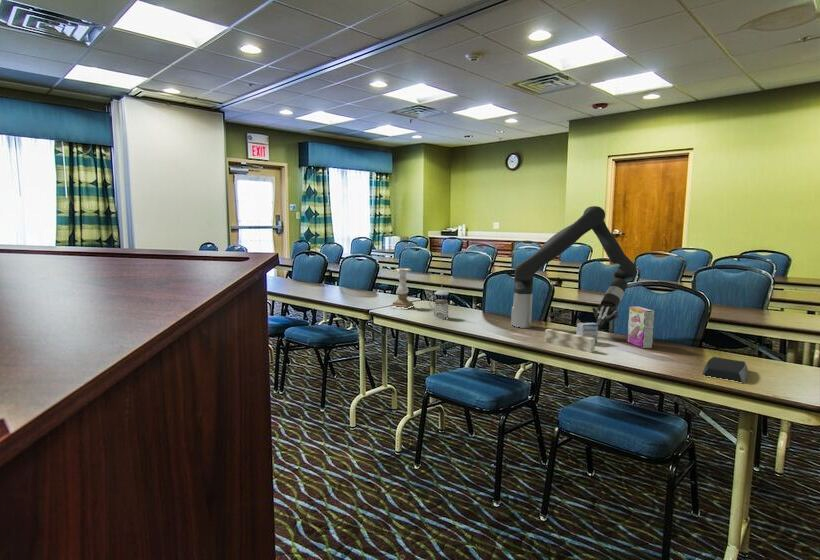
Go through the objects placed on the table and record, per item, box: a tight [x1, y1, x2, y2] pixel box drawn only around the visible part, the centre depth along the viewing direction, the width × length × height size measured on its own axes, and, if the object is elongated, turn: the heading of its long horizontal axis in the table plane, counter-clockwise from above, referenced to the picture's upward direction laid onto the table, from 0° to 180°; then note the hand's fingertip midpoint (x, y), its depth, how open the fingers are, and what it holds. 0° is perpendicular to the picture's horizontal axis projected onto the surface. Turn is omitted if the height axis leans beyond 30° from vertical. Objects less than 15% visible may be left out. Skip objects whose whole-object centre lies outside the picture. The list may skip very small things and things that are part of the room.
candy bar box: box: [626, 305, 656, 349], centre depth 206 cm, size 11×5×16 cm, turn 9°
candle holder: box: [390, 267, 415, 308], centre depth 290 cm, size 11×11×24 cm
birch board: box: [544, 328, 596, 353], centre depth 203 cm, size 22×3×6 cm, turn 40°
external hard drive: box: [702, 356, 749, 383], centre depth 169 cm, size 13×19×4 cm
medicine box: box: [576, 322, 599, 344], centre depth 211 cm, size 8×4×9 cm, turn 105°
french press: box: [428, 272, 450, 320], centre depth 260 cm, size 10×12×25 cm
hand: (598, 326), depth 216 cm, fingers closed
